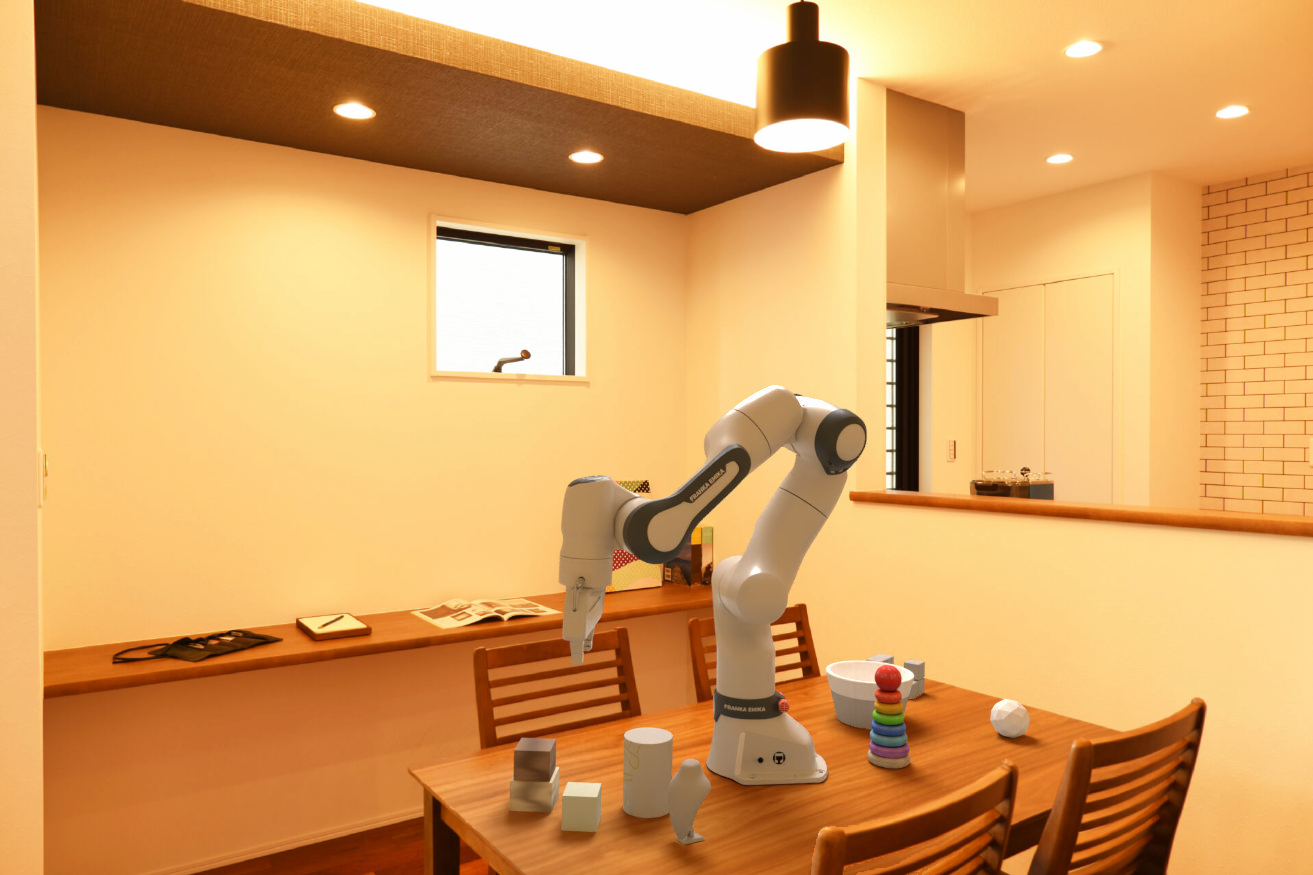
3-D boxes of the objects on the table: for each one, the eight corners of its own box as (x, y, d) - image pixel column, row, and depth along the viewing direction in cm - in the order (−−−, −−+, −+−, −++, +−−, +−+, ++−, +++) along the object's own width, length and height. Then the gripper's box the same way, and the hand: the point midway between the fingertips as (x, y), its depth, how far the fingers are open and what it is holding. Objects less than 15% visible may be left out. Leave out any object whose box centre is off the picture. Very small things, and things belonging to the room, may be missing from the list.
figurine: (659, 834, 133) (660, 757, 134) (686, 825, 137) (687, 750, 137) (689, 853, 127) (690, 772, 127) (716, 844, 131) (717, 765, 131)
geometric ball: (1007, 745, 184) (1016, 710, 188) (1033, 743, 177) (1041, 707, 181) (978, 728, 183) (987, 694, 187) (1003, 726, 176) (1012, 690, 180)
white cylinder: (621, 797, 147) (623, 727, 147) (668, 796, 148) (670, 726, 148) (624, 818, 139) (625, 744, 139) (673, 817, 140) (675, 743, 140)
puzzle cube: (858, 694, 211) (858, 662, 211) (879, 684, 220) (879, 653, 220) (904, 704, 203) (905, 671, 203) (924, 693, 213) (925, 661, 213)
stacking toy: (876, 751, 171) (877, 657, 171) (916, 760, 167) (917, 664, 167) (861, 763, 165) (862, 665, 165) (902, 773, 160) (903, 672, 160)
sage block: (600, 816, 140) (601, 783, 140) (596, 832, 134) (597, 796, 134) (567, 815, 140) (567, 781, 140) (561, 830, 134) (562, 795, 134)
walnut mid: (555, 767, 147) (556, 738, 147) (549, 781, 141) (550, 751, 141) (521, 766, 148) (521, 737, 148) (513, 780, 142) (513, 750, 142)
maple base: (559, 795, 148) (559, 766, 148) (551, 813, 141) (552, 782, 141) (518, 794, 148) (519, 765, 148) (509, 811, 141) (509, 781, 141)
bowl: (845, 700, 205) (846, 655, 205) (925, 717, 194) (926, 669, 194) (810, 721, 189) (811, 672, 189) (895, 740, 178) (896, 688, 178)
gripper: (595, 584, 132) (591, 674, 132) (612, 566, 152) (608, 644, 152) (555, 581, 132) (550, 671, 132) (576, 564, 153) (573, 641, 152)
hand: (581, 656), depth 142 cm, fingers open, 8 cm apart
